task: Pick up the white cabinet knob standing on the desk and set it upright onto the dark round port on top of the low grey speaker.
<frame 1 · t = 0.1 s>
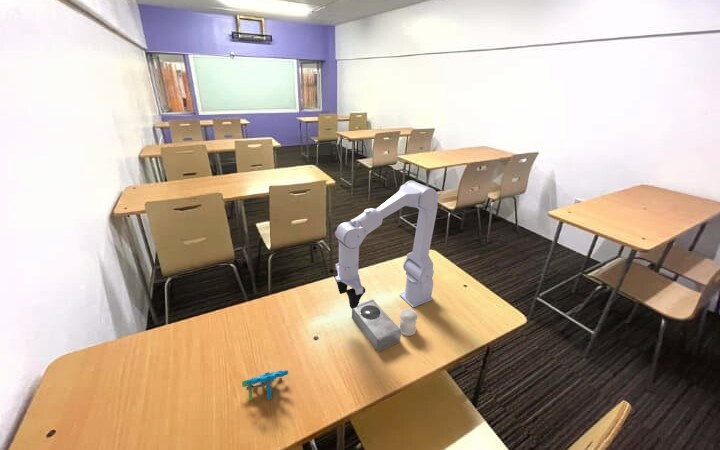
hand: (348, 299, 93), 10 cm above the table, fingers open, 7 cm apart
white cabinet knob: (406, 329, 96), on the table
grey speaker: (374, 328, 95), on the table
blue legged part: (267, 388, 76), on the table
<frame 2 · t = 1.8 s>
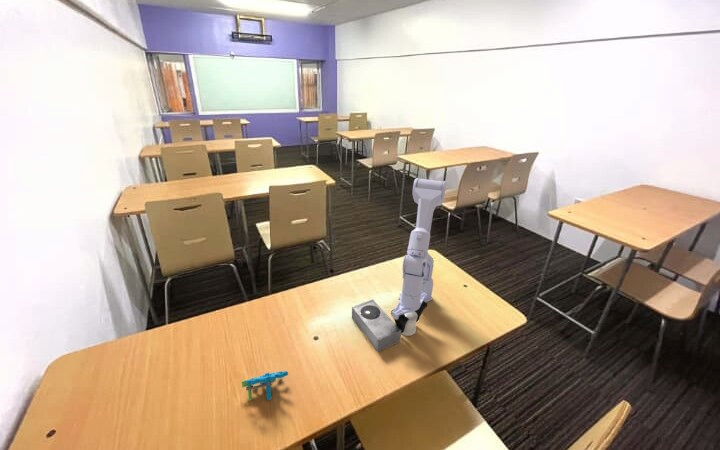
hand: (407, 325, 95), 2 cm above the table, fingers open, 7 cm apart
nothing on the table moved.
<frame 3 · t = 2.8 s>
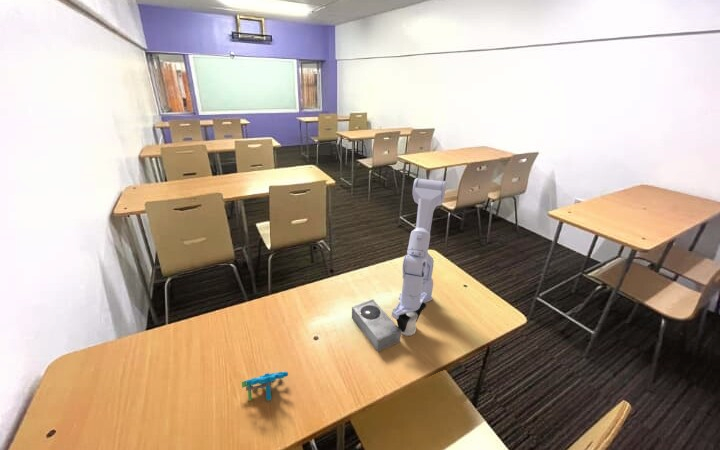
hand: (407, 325, 95), 2 cm above the table, fingers closed on white cabinet knob, 5 cm apart
white cabinet knob: (406, 329, 96), on the table, touching gripper
everything else where it was.
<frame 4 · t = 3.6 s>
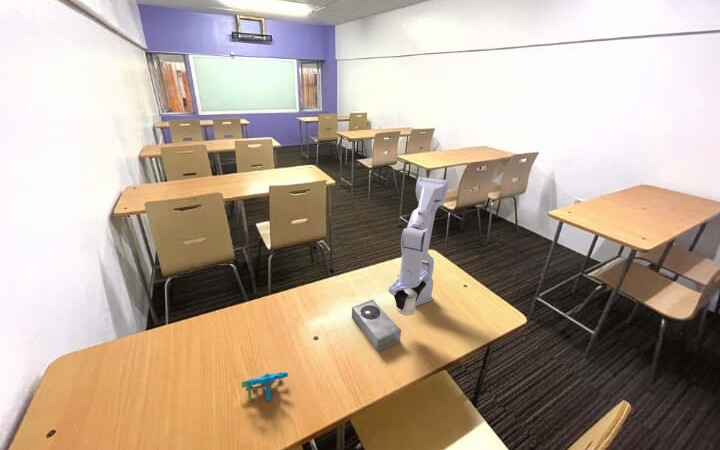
hand: (406, 304, 92), 10 cm above the table, fingers closed on white cabinet knob, 5 cm apart
white cabinet knob: (405, 309, 92), point 8 cm above the table, touching gripper
everything else where it was.
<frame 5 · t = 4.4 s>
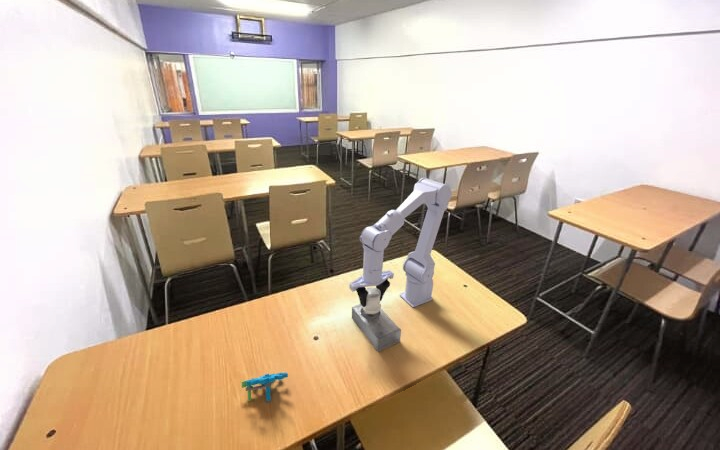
hand: (370, 302, 94), 9 cm above the table, fingers closed on white cabinet knob, 5 cm apart
white cabinet knob: (371, 308, 95), point 6 cm above the table, touching gripper
everything else where it was.
when the fingers open (7 cm above the table, at t = 5.1 s): white cabinet knob stays where it is, resting on grey speaker.
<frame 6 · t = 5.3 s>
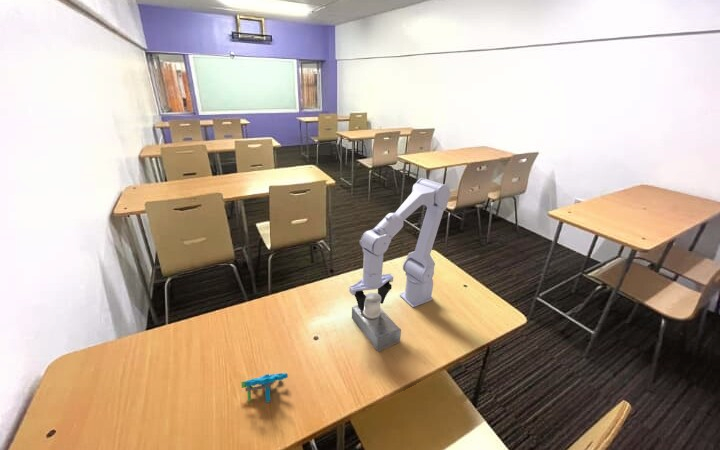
hand: (370, 305, 95), 7 cm above the table, fingers open, 7 cm apart
white cabinet knob: (371, 312, 96), point 5 cm above the table, touching grey speaker
everything else where it was.
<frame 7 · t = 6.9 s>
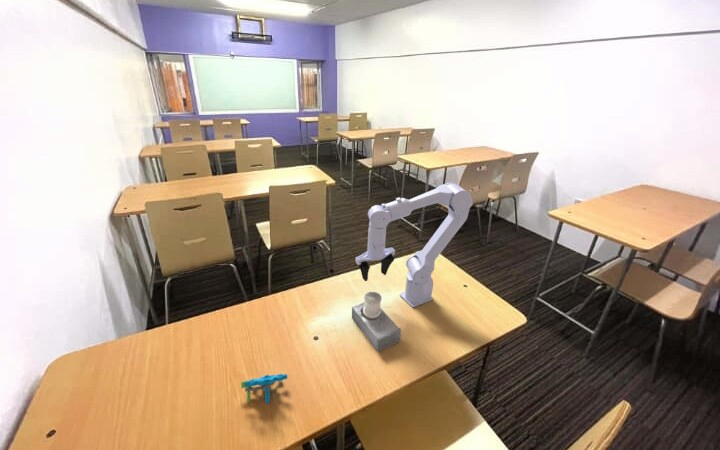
hand: (374, 276, 104), 10 cm above the table, fingers open, 7 cm apart
nothing on the table moved.
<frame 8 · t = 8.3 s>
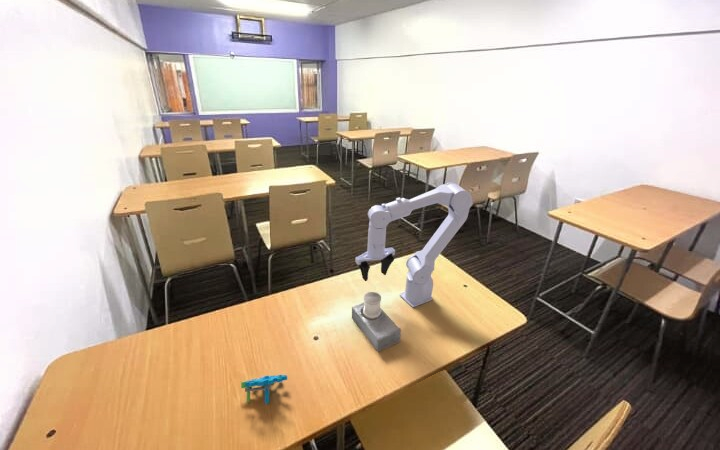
hand: (374, 276, 104), 10 cm above the table, fingers open, 7 cm apart
nothing on the table moved.
at the end: white cabinet knob 0.5 cm from the target spot, point 4.6 cm above the table; white cabinet knob tilted 1°; the gripper is holding nothing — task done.
